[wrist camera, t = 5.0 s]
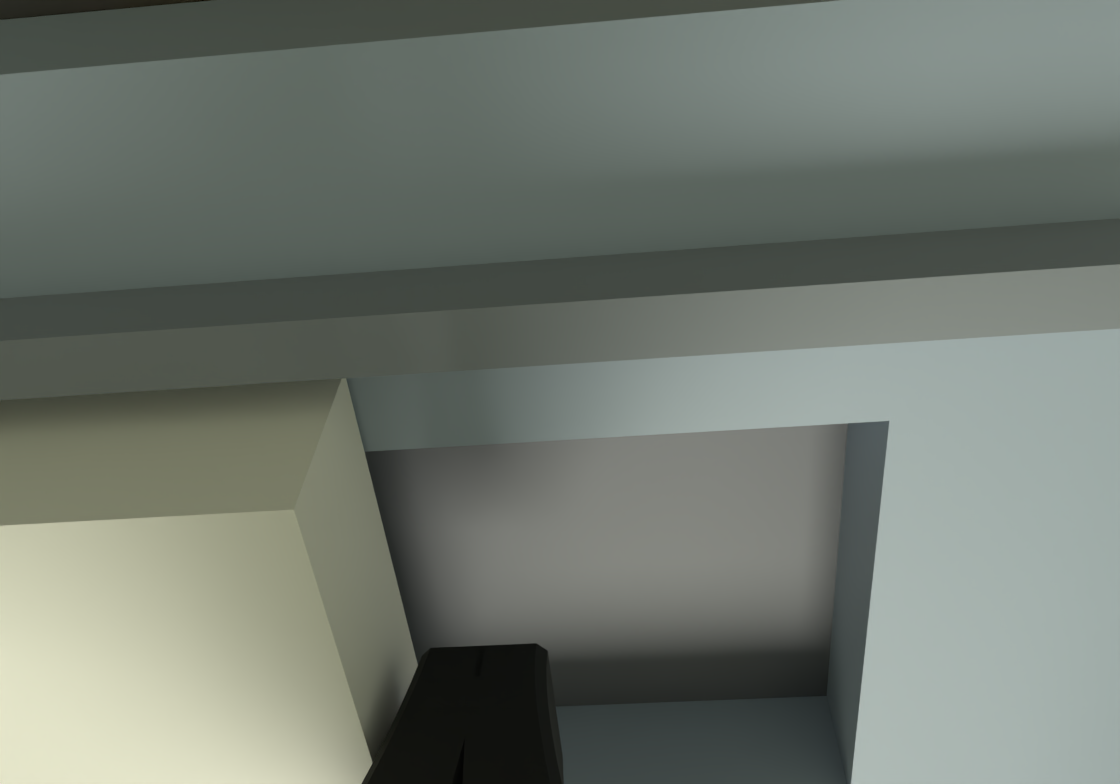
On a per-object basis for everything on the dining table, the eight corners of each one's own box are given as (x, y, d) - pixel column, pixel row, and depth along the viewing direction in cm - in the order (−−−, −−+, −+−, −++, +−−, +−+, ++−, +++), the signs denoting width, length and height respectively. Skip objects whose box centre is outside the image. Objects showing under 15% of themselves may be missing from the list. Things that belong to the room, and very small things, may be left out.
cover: (344, 371, 10) (259, 601, 7) (465, 854, 14) (438, 1099, 12) (-435, 421, 10) (-756, 651, 8) (-85, 871, 15) (-220, 1107, 12)
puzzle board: (1575, -125, 9) (1915, -61, 7) (1182, 824, 17) (1276, 1003, 14) (-708, 84, 11) (-1071, 195, 8) (-98, 861, 18) (-197, 1030, 16)
